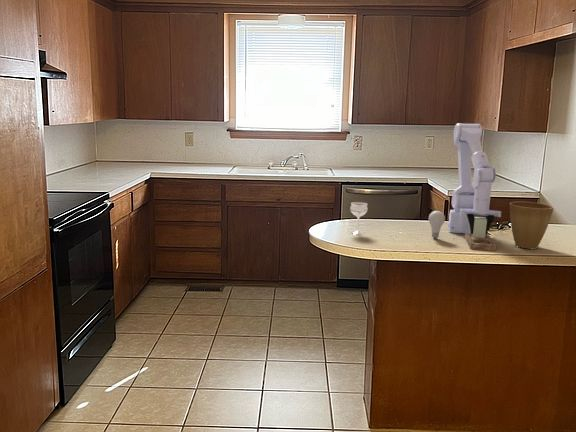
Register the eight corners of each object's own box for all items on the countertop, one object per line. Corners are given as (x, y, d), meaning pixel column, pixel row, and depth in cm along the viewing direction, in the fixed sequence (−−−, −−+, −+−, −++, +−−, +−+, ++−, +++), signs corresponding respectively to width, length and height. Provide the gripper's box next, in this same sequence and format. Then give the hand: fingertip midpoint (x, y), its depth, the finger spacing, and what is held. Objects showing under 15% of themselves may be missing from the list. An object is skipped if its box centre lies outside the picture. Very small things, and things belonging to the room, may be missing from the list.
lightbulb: (432, 235, 219) (434, 208, 217) (446, 238, 215) (448, 211, 213) (423, 238, 215) (426, 210, 213) (437, 241, 211) (440, 213, 208)
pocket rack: (470, 248, 201) (470, 243, 201) (464, 237, 218) (465, 232, 217) (495, 250, 200) (495, 245, 199) (487, 239, 216) (488, 234, 216)
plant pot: (553, 253, 198) (559, 209, 195) (510, 250, 201) (515, 207, 197) (541, 243, 213) (546, 202, 210) (501, 240, 215) (505, 200, 212)
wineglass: (358, 235, 216) (359, 205, 213) (345, 232, 221) (346, 202, 218) (369, 233, 220) (371, 203, 218) (356, 230, 225) (358, 201, 223)
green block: (472, 242, 211) (474, 218, 209) (471, 239, 215) (473, 216, 213) (484, 242, 210) (487, 219, 208) (482, 240, 215) (485, 217, 213)
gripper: (463, 199, 207) (459, 234, 210) (504, 202, 204) (500, 237, 207) (461, 196, 214) (458, 230, 216) (500, 198, 211) (496, 233, 214)
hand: (478, 233), depth 212 cm, fingers closed on green block, 4 cm apart
